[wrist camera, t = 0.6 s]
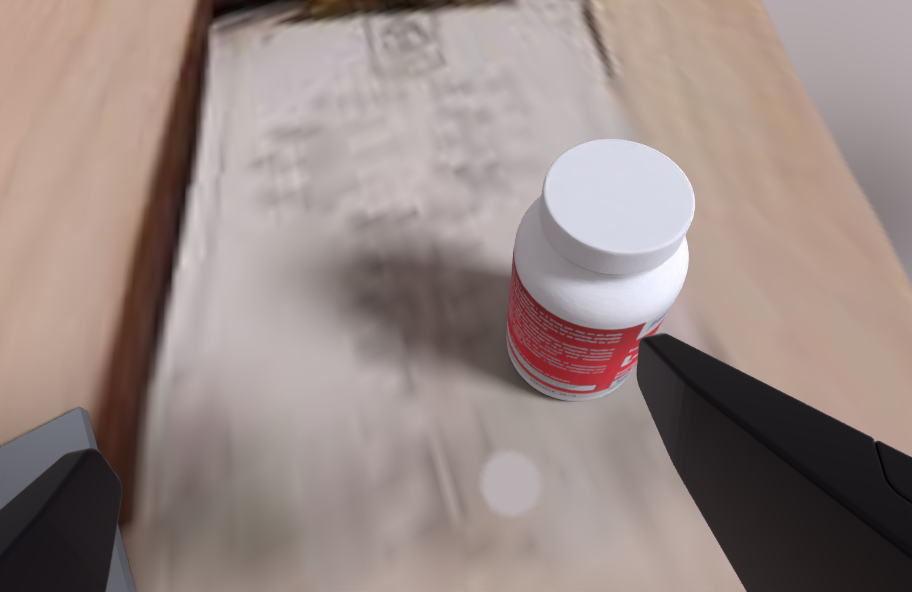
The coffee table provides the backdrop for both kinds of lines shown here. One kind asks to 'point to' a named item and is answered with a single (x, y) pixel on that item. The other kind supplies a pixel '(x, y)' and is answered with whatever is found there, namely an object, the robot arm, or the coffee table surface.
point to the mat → (35, 452)
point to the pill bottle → (596, 266)
